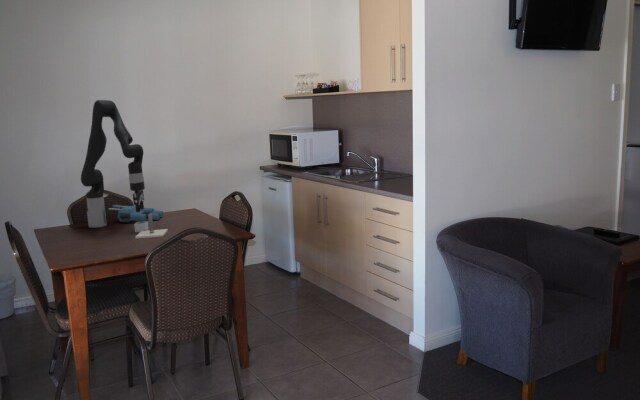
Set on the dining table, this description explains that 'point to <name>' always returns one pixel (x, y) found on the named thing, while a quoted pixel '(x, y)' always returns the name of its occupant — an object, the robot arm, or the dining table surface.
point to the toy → (135, 213)
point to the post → (151, 231)
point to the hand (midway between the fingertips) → (140, 210)
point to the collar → (141, 226)
